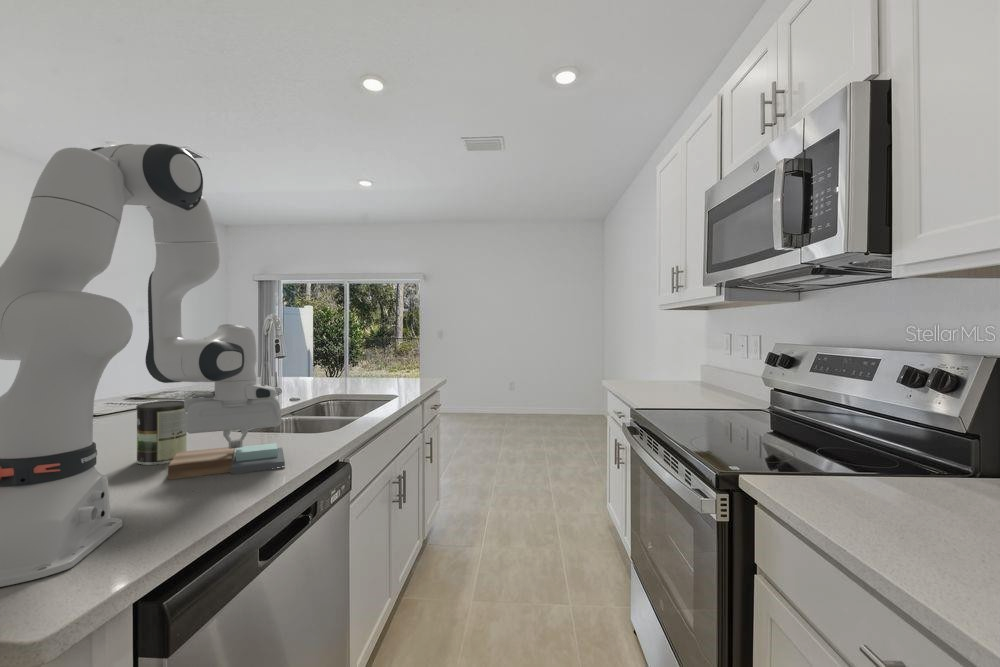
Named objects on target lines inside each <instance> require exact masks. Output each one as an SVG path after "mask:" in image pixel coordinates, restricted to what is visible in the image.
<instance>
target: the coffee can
mask: <svg viewBox="0 0 1000 667" xmlns="http://www.w3.org/2000/svg"><path fill="white" fill-rule="evenodd" d="M184 401H185V400H158V401H151V402H144V403H140V404H137V405H136V406H135V407H136V408H135V409H136V461H135V462H136V464H137V463H138V465H140V464H141V466H158V465H157V464H159V465H166V464H170V463H171V461H172V460H173V458H174V457H175V455H176V454H177V452H186V451H187V436H188V435H187V433H188V432H187V431H186V430H185V423H186V416H187V412H186V411H185V409H184ZM165 463H166V464H165Z"/></svg>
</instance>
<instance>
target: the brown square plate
mask: <svg viewBox="0 0 1000 667" xmlns="http://www.w3.org/2000/svg"><path fill="white" fill-rule="evenodd" d="M235 451H236V448H231V449H229V446H227V447H226V446H225V447H217V448H209V449H197V450H196V449H195V450H188V451H187V450H186V452H177V454H176V455H175V457H174V458H173V460H172V461H171V463H168V465H167V472H168V473H167V476H168V477H167V480H177V479H183V478H191V477H192V478H193V477H198V476H199V477H200V476H207V475H215V474H217V475H218V474H224V473H231V467H232V462H233V457H234V453H235Z"/></svg>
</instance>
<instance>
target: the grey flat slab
mask: <svg viewBox="0 0 1000 667" xmlns="http://www.w3.org/2000/svg"><path fill="white" fill-rule="evenodd" d="M285 462H286V461H285V455H284V449H283V447H278V457H270V458H261V459H252V460H243V461H236V452H235V453H234V457H233V462H232V467H231V472H230V473H231V475H235V474H237V473H238V474H244V473H253V471H254V472H261V471H260V470H262V471H267V470H266V469H270V470H273V469H272V468H277V467H282V466H286V463H285Z"/></svg>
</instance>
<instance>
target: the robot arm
mask: <svg viewBox="0 0 1000 667" xmlns="http://www.w3.org/2000/svg"><path fill="white" fill-rule="evenodd" d="M203 189H204V176H203V174H202V169H201V167H200V165H199V164H198V162H197V160H196V158H194V157H193V156H192V154H191V153H190V152H188V151H187V150H186V149H184V148H182V147H180V146H176V145H172V144H167V143H155V144H146V143H145V144H138V143H136V144H133V143H124V144H123V143H122V144H116V145H115V144H114V145H110V146H107V147H106V146H105V147H104V146H100V147H98V146H97V147H94V148H90V149H87V148H82V147H65V148H62V149H60V150H57V151H56V152H55V153H54V154H53V155H52V156H51V158H50V159H49V160H48V162H47V164H46V165H45V166H44V169H43V170H42V172H41V174H40V175H39V178H38V179H37V182H36V184H35V187H34V188H33V191H32V193H31V194H32V195H31V197H30V200H29V204H28V207H27V209H26V212H25V216H24V217H23V218H24V219H23V221H22V224H21V227H20V230H19V233H18V236H17V239H16V241H15V243H14V245H13V247H12V249H11V251H10V252H9V254H8V255H7V257H6V259H5V260H4V261H3V263H2V264H1V265H0V360H2V361H3V360H4V361H19V365H18V366H19V367H18V370H17V373H16V376H15V378H14V380H13V382H12V384H11V386H10V387H9V388H8V390H7V391H5V392H4V393H3V394H1V395H0V587H1V588H2V587H6V586H11V585H15V584H16V585H17V584H21V583H25V582H29V581H34V580H38V579H41V578H44V577H49V576H51V575H54V574H58V573H61V572H63V571H67V570H69V569H71V568H73V567H74V566H76V565H77V564H78V563H79V562H80V561H82V560H83V559H84V558H85V557H87V556H88V555H89V554H90V553H91V552H93V551H94V550H95V549H96V548H97V547H99V545H101V544H103V543H104V542H105V541H107V539H108V538H110V537H111V536H112V535H113V534H115V532H117V531H118V530H119V529H120V528H122V527H123V520H122V518H117V517H111V505H110V493H109V492H110V490H109V479H108V477H107V476H105V475H103V474H102V473H100V472H99V471H98V469H96V467H95V466H96V465H97V463H98V462H97V456H98V450H97V444H96V442H94V441H93V439H94V438H93V437H94V436H93V435H94V434H93V433H94V406H95V405H94V404H95V395H96V392H97V389H98V385H99V383H100V379H101V378H102V375H103V374H104V371H105V370H106V367H107V366H108V364H109V363H110V361H111V360H112V359H113V358H114V357H115V356H116V355H117V354H119V353H120V352H121V351H123V350H124V349H125V348H126V347H127V345H128V344H129V342H130V340H131V338H132V336H133V332H134V331H133V329H134V326H133V325H134V324H133V320H132V316H131V314H130V313H129V311H128V309H127V308H126V307H125V306H124V304H122V303H121V302H119V301H117V300H116V299H113V298H111V297H108V296H104V295H100V294H95V293H92V292H88V291H87V292H86V291H83V290H84V289H85V288H86V286H87V285H88V284H89V283H90V282H91V281H92V280H93V279H94V278H96V277H98V276H99V275H101V274H103V272H104V271H106V270H107V269H108V267H109V265H111V262H112V261H111V260H112V257H113V253H114V249H115V244H116V241H117V239H118V238H117V237H118V233H119V229H120V226H121V223H122V222H121V221H122V219H123V218H122V217H123V212H124V211H123V210H124V206H142V207H143V206H144V207H145V209H146V210H147V211H148V213H149V215H150V216H151V219H152V228H153V236H154V243H155V264H154V268H153V271H152V272H151V273H150V276H149V278H148V284H147V310H148V311H147V312H148V343H147V347H146V353H145V358H144V359H145V365H146V366H145V367H146V369H147V372H148V373H149V375H151V377H152V378H153V379H154V380H156V381H157V382H160V383H163V384H170V383H171V384H172V383H182V382H184V383H214V392H212V391H211V392H203V393H202V392H201V393H198V392H195V393H191V394H190V395H188V396H187V397H185V399H184V400H183V401H184V409H185V411H186V412H187V416H186V423H185V430H186V431H187V433H188V434H189V435H191V434H203V433H215V432H216V433H217V432H223V434H222V435H223V437H224V438H225V440H226V441H227V442H228V447H229V449H231V448H235V449H237V448H242V447H243V444H244V440H245V438H246V437H247V434H248V433H249V430H248V429H259V428H260V429H261V428H262V429H263V428H271V427H272V428H273V427H279V426H280V425H281V424H282V421H283V420H282V410H281V405H280V401H279V399H278V398H277V397H276V396H277V389H276V388H275V387H274V386H270V385H267V384H262V383H258V382H257V374H256V363H257V343H256V342H257V341H256V337H255V333H254V331H253V329H252V328H250V327H248V326H246V325H240V324H229V323H228V324H220V325H218V327H217V330H215V331H214V332H213V333H212V334H210V335H208V336H205V337H202V338H203V339H202V338H200V339H199V338H198V339H194V338H193V339H192V338H191V339H188V338H187V339H186V338H185V337H184V336H183V334H182V302H183V298H184V296H185V295H186V294H187V293H188V292H190V291H191V290H192V289H194V288H196V287H198V286H201V285H203V284H204V283H206V282H207V281H209V280H210V279H211V278H212V277H213V276H214V275H215V274H216V273H217V271H218V269H219V267H220V258H221V257H220V250H219V243H218V237H217V231H216V228H215V227H216V226H215V224H214V223H215V222H214V220H213V216H212V213H211V210H210V207H209V205H208V202H207V200H206V199H205V197H204V196H203ZM236 430H240V434H241V436H240V438H239V439H233V438H232V437H231V436H230V435H231V431H236Z"/></svg>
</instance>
